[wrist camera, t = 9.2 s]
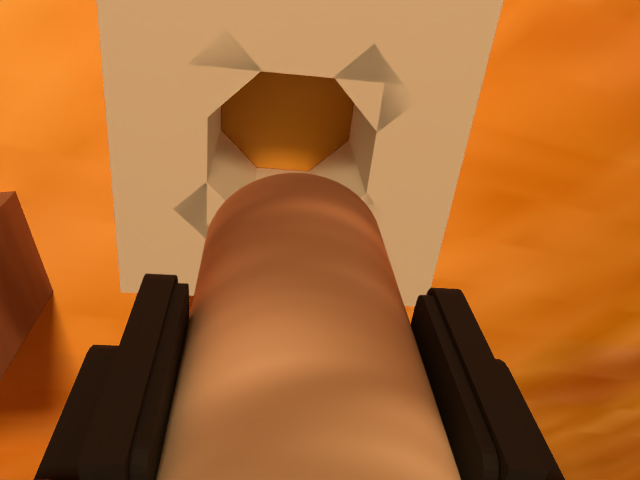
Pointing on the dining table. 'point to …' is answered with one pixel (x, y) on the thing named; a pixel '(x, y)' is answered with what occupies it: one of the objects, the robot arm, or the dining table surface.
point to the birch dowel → (300, 349)
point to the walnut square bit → (18, 279)
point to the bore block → (300, 59)
